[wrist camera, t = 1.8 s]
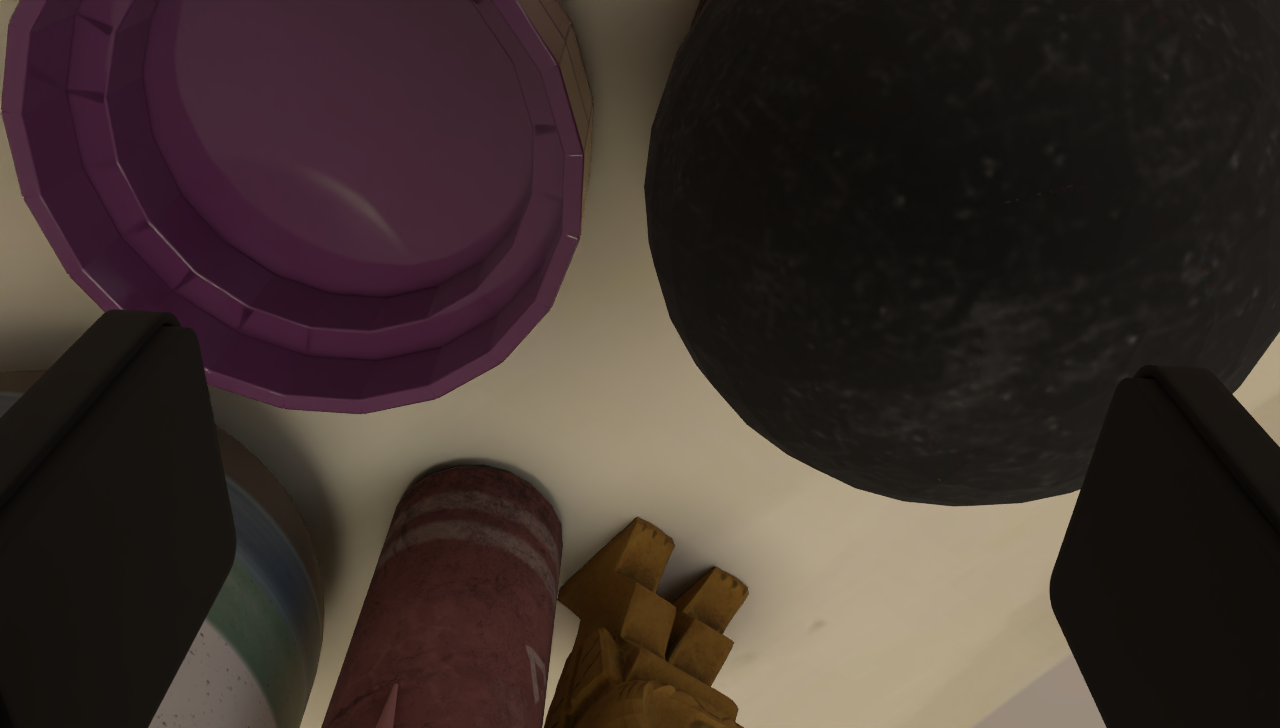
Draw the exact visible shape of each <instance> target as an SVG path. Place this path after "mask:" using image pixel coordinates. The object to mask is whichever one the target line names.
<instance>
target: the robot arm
mask: <svg viewBox="0 0 1280 728" xmlns="http://www.w3.org/2000/svg"><path fill="white" fill-rule="evenodd" d="M236 544H237V538H236V530H235V525H234V520H233V515H232V509H231V504H230V499H229V494H228V489H227V484H226V479H225V473H224V468H223V463H222V458H221V453H220V448H219V443H218V437H217V432H216V427H215V422H214V417H213V412H212V407H211V401H210V396H209V391H208V386H207V381H206V376H205V371H204V365H203V360H202V355H201V350H200V345H199V341H198V338H197V335H196V333H195V332H194V330H193V329H191V328H189V327H181V325H180V323H179V321H178V319H177V318H176V316H175V315H173V314H172V313H170V312H156V311H137V310H118V309H114V310H109V311H107V312H106V313H104V314H103V315H102V316H101V317H100V318H99V319H98V320H97V321H96V322H95V323H94V324H93V325H92V326H91V327H90V328H89V329H88V330H87V331H86V332H85V333H84V334H83V335H82V336H81V337H80V338H79V339H78V340H77V341H76V342H75V343H74V344H73V345H72V346H71V347H70V348H69V349H68V350H67V351H66V352H65V353H64V354H63V355H62V356H61V357H60V358H59V359H58V360H57V361H56V362H55V363H54V364H53V365H52V366H51V367H50V368H49V369H48V370H47V371H46V372H45V373H44V374H43V375H42V376H41V377H40V378H39V379H38V380H37V381H36V382H35V383H34V384H33V385H32V386H31V387H30V388H29V389H28V390H27V392H26V393H25V394H24V395H23V396H22V397H21V398H20V399H19V400H18V401H17V402H16V403H15V404H14V405H13V406H12V407H11V408H10V409H9V410H8V411H7V412H6V413H5V414H4V415H3V416H2V417H1V418H0V728H148V727H149V725H150V723H151V722H152V720H153V718H154V716H155V714H156V712H157V710H158V708H159V706H160V704H161V702H162V701H163V699H164V697H165V695H166V693H167V691H168V689H169V687H170V685H171V683H172V681H173V680H174V678H175V676H176V674H177V672H178V670H179V668H180V666H181V664H182V662H183V661H184V659H185V657H186V655H187V653H188V651H189V649H190V647H191V645H192V643H193V641H194V640H195V638H196V636H197V634H198V632H199V630H200V628H201V626H202V624H203V622H204V620H205V619H206V617H207V615H208V613H209V611H210V609H211V607H212V605H213V603H214V601H215V599H216V598H217V596H218V594H219V592H220V590H221V588H222V586H223V584H224V582H225V580H226V579H227V577H228V575H229V573H230V571H231V568H232V566H233V563H234V559H235V554H236ZM1050 600H1051V606H1052V609H1053V612H1054V614H1055V616H1056V618H1057V621H1058V623H1059V625H1060V627H1061V629H1062V632H1063V634H1064V636H1065V638H1066V640H1067V642H1068V645H1069V647H1070V649H1071V651H1072V653H1073V655H1074V658H1075V660H1076V662H1077V664H1078V666H1079V669H1080V671H1081V673H1082V675H1083V677H1084V679H1085V681H1086V684H1087V686H1088V688H1089V690H1090V692H1091V695H1092V697H1093V698H1094V701H1095V703H1096V706H1097V708H1098V710H1099V712H1100V714H1101V716H1102V718H1103V721H1104V723H1105V725H1106V727H1107V728H1280V447H1279V446H1278V445H1277V444H1276V443H1275V442H1274V441H1273V439H1272V438H1271V437H1270V436H1269V435H1268V434H1267V433H1266V432H1265V430H1264V429H1263V428H1262V427H1261V426H1260V425H1259V424H1258V423H1257V422H1256V420H1255V419H1254V418H1253V417H1252V416H1251V415H1250V414H1249V413H1248V411H1247V410H1246V409H1245V408H1244V407H1243V406H1242V405H1241V404H1240V403H1239V401H1238V400H1237V399H1236V398H1235V397H1234V396H1233V395H1232V394H1231V392H1230V391H1229V390H1228V389H1227V388H1226V387H1225V386H1224V385H1223V384H1222V382H1221V381H1220V380H1219V379H1218V378H1217V377H1216V376H1215V375H1214V373H1212V372H1211V371H1210V370H1208V369H1207V368H1200V367H1184V366H1165V365H1145V366H1143V367H1141V368H1140V369H1139V370H1138V372H1137V373H1136V374H1135V375H1134V378H1125V379H1122V380H1121V381H1120V383H1119V384H1118V385H1117V387H1116V390H1115V392H1114V395H1113V397H1112V400H1111V403H1110V406H1109V409H1108V412H1107V415H1106V418H1105V421H1104V424H1103V426H1102V429H1101V432H1100V435H1099V438H1098V441H1097V444H1096V447H1095V450H1094V453H1093V456H1092V458H1091V461H1090V464H1089V467H1088V470H1087V473H1086V476H1085V479H1084V482H1083V485H1082V488H1081V490H1080V493H1079V496H1078V499H1077V502H1076V505H1075V508H1074V511H1073V514H1072V517H1071V519H1070V522H1069V525H1068V528H1067V531H1066V534H1065V537H1064V540H1063V543H1062V546H1061V549H1060V551H1059V554H1058V557H1057V560H1056V563H1055V566H1054V569H1053V572H1052V575H1051V580H1050Z"/></svg>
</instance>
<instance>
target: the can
mask: <svg viewBox="0 0 1280 728" xmlns="http://www.w3.org/2000/svg"><path fill="white" fill-rule="evenodd" d="M562 548H563V542H562V528H561V523H560V521H559V519H558V517H557V515H556V513H555V511H554V509H553V507H552V505H551V504H550V503H549V502H548V501H547V500H546V499H545V498H544V497H543V496H542V495H541V494H540V493H539V492H538V491H537V490H536V489H535V488H534V487H533V486H532V485H531V484H530V483H529V482H527V481H525V480H524V479H522V478H520V477H518V476H516V475H514V474H513V473H511V472H509V471H505V470H501V469H497V468H493V467H489V466H485V465H477V466H458V467H454V468H451V469H447V470H443V471H440V472H437V473H434V474H431V475H429V476H428V477H426V478H425V479H423V480H422V481H420V482H418V483H417V484H415V485H414V486H412V487H411V488H410V489H409V490H408V491H407V493H406V494H405V495H404V497H403V498H402V500H401V501H400V502H399V504H398V505H397V507H396V510H395V513H394V516H393V519H392V522H391V524H390V527H389V530H388V533H387V536H386V539H385V542H384V545H383V548H382V551H381V554H380V557H379V560H378V563H377V566H376V569H375V572H374V574H373V577H372V580H371V583H370V586H369V589H368V592H367V595H366V598H365V601H364V604H363V607H362V610H361V613H360V616H359V619H358V622H357V624H356V627H355V630H354V633H353V636H352V639H351V642H350V645H349V648H348V651H347V654H346V657H345V660H344V663H343V666H342V669H341V672H340V674H339V677H338V680H337V683H336V686H335V689H334V692H333V695H332V698H331V701H330V704H329V707H328V710H327V713H326V716H325V719H324V722H323V724H322V727H321V728H542V725H543V716H544V707H545V698H546V689H547V680H548V672H549V663H550V654H551V645H552V636H553V627H554V619H555V610H556V601H557V592H558V583H559V574H560V565H561V557H562Z"/></svg>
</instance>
